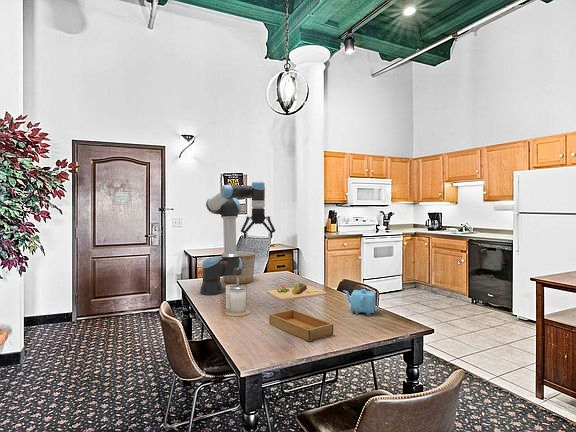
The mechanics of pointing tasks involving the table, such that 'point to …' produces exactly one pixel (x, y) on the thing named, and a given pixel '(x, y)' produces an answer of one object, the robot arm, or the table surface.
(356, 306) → the teapot
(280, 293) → the cutting board
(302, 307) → the table surface
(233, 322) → the table surface
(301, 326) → the tray
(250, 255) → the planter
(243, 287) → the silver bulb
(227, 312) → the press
